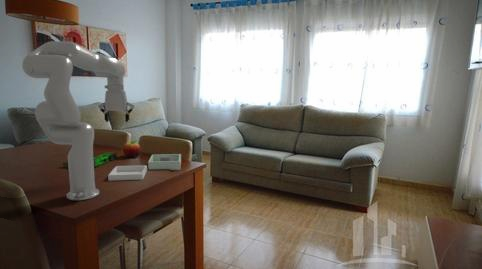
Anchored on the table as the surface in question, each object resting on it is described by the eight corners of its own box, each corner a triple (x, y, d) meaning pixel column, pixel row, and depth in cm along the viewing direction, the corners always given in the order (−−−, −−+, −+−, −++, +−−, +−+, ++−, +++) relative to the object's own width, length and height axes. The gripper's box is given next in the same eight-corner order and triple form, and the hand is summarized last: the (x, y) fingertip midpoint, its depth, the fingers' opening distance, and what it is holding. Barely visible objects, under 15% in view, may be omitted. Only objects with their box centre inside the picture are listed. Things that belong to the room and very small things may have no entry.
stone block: (169, 165, 177) (169, 157, 176) (160, 166, 176) (160, 157, 175) (170, 163, 182) (170, 155, 181) (161, 163, 181) (161, 155, 180)
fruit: (119, 157, 197) (119, 142, 195) (131, 154, 207) (130, 139, 205) (133, 159, 193) (133, 143, 191) (144, 155, 203) (144, 140, 201)
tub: (142, 181, 153) (142, 174, 152) (108, 182, 150) (108, 175, 149) (147, 171, 168) (146, 165, 167) (116, 172, 166) (116, 166, 165)
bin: (179, 169, 172) (179, 161, 171) (148, 170, 170) (148, 162, 169) (180, 162, 189) (180, 154, 188) (152, 162, 186) (152, 154, 185)
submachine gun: (48, 162, 170) (90, 162, 166) (82, 152, 198) (118, 151, 195) (49, 171, 170) (91, 171, 167) (83, 159, 199) (119, 159, 195)
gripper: (95, 87, 151) (97, 122, 153) (132, 88, 153) (133, 122, 156) (99, 87, 158) (101, 120, 161) (134, 88, 161) (136, 120, 163)
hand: (117, 121), depth 158 cm, fingers open, 9 cm apart
